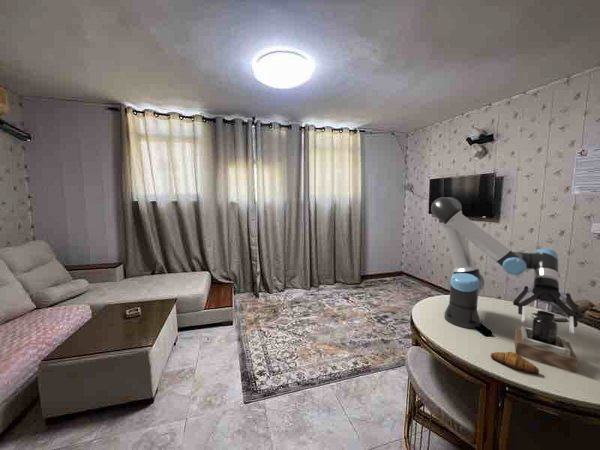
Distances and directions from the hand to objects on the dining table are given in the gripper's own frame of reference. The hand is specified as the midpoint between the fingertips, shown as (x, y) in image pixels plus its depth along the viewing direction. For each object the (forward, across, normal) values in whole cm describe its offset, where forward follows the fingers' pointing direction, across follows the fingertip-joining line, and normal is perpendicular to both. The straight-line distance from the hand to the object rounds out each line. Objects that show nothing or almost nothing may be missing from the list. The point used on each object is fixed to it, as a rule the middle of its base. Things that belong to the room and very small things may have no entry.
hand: (546, 327), depth 95 cm
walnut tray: (+8, 0, -7) cm, 11 cm away
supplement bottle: (+5, 0, -4) cm, 6 cm away
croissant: (+20, +9, +4) cm, 22 cm away
